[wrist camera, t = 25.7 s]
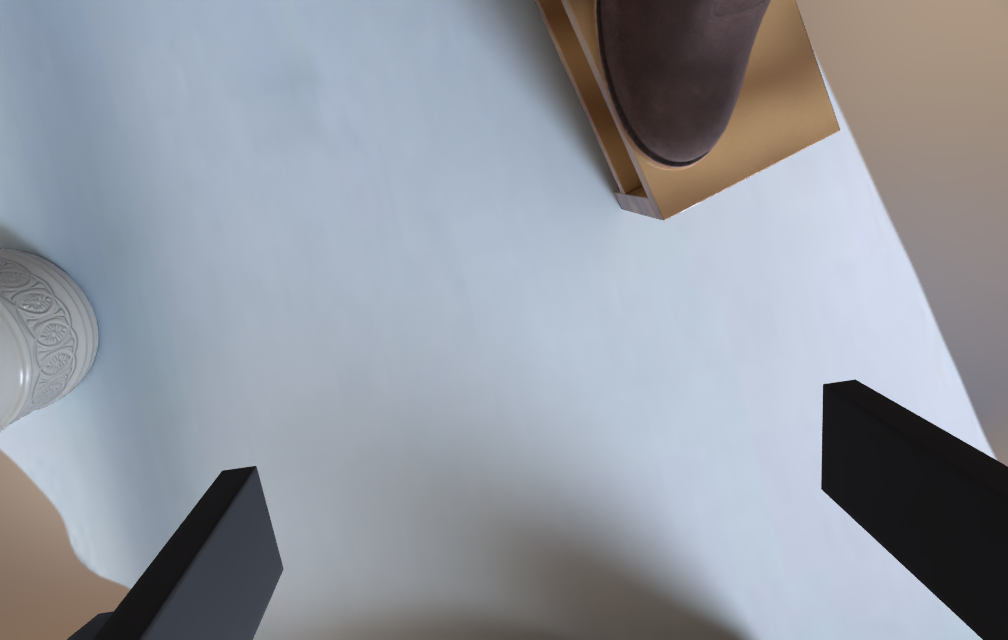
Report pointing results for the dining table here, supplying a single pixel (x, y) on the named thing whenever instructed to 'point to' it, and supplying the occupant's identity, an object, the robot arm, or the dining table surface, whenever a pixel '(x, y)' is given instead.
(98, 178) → the dining table surface
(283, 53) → the dining table surface
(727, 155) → the shoe rack
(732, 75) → the boot
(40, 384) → the jar
